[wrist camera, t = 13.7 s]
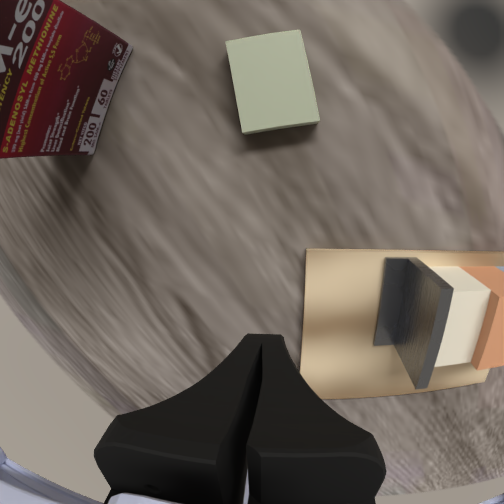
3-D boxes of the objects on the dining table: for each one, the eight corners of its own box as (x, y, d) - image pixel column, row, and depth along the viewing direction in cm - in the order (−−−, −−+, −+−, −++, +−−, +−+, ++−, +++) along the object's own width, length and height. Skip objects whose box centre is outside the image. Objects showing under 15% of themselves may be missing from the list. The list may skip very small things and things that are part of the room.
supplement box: (97, 156, 20) (-109, 182, 5) (52, 141, 20) (-128, 157, 5) (138, 44, 18) (-34, -51, 2) (88, 37, 18) (-73, -25, 2)
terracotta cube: (480, 326, 20) (514, 362, 15) (445, 330, 20) (476, 370, 15) (494, 266, 18) (537, 293, 13) (458, 266, 19) (499, 296, 14)
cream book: (445, 329, 20) (470, 362, 16) (403, 332, 21) (424, 368, 16) (458, 266, 19) (491, 290, 15) (415, 266, 19) (443, 292, 15)
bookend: (402, 342, 21) (427, 388, 15) (373, 343, 21) (392, 392, 16) (416, 257, 19) (454, 288, 14) (385, 257, 19) (415, 289, 14)
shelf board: (481, 377, 22) (484, 381, 21) (297, 394, 24) (297, 399, 23) (516, 251, 19) (521, 253, 18) (306, 248, 20) (306, 251, 20)
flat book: (316, 124, 19) (319, 120, 17) (245, 135, 19) (242, 132, 18) (299, 40, 17) (300, 29, 15) (230, 51, 18) (225, 41, 16)
